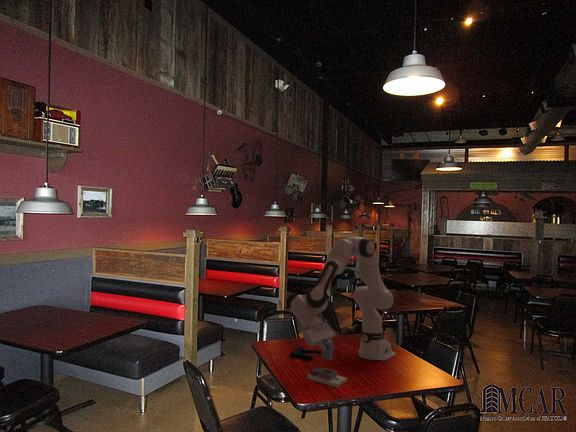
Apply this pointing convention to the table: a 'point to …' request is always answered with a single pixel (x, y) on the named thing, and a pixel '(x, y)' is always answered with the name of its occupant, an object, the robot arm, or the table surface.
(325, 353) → the block
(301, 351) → the gun
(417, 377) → the table surface
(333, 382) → the chassis
